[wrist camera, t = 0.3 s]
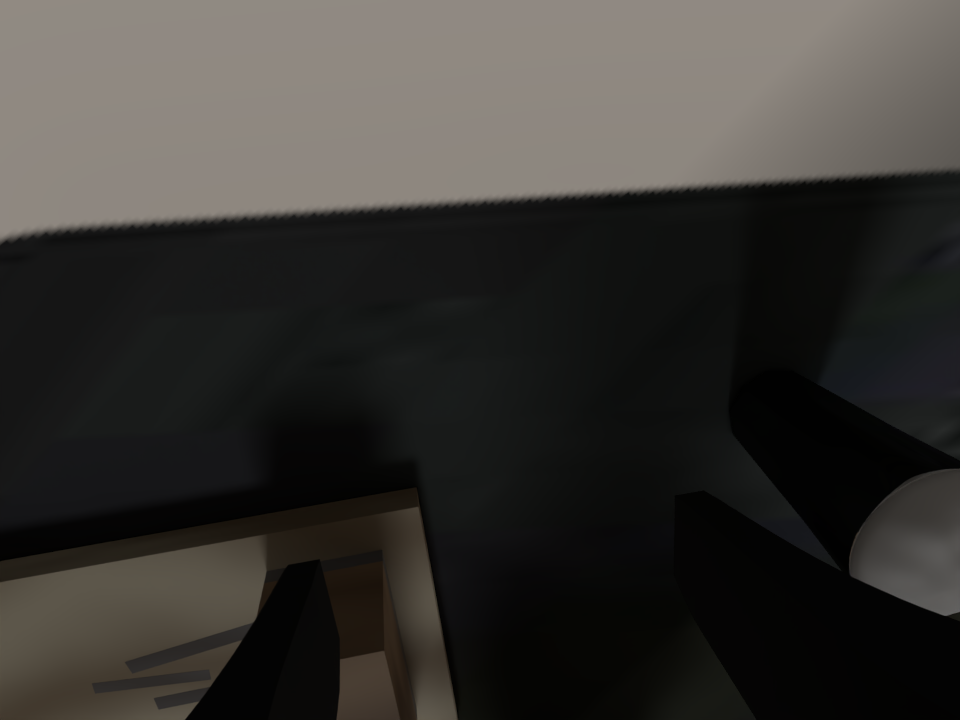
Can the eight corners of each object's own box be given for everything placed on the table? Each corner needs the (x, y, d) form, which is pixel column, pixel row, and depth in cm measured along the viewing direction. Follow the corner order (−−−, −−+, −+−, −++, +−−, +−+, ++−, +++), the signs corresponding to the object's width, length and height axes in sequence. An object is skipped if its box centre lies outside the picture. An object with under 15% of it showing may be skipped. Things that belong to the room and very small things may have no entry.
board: (458, 718, 29) (461, 744, 28) (73, 799, 27) (60, 829, 26) (416, 487, 24) (418, 506, 23) (-54, 570, 22) (-76, 596, 21)
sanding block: (416, 709, 26) (424, 825, 22) (315, 730, 26) (304, 851, 22) (382, 549, 23) (384, 650, 19) (266, 571, 23) (243, 679, 19)
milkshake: (672, 411, 24) (851, 613, 15) (800, 327, 24) (1068, 485, 14) (723, 492, 26) (911, 716, 17) (843, 417, 25) (1105, 606, 16)
